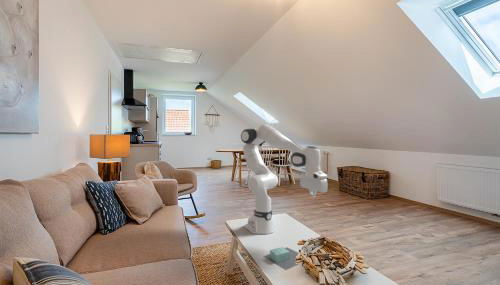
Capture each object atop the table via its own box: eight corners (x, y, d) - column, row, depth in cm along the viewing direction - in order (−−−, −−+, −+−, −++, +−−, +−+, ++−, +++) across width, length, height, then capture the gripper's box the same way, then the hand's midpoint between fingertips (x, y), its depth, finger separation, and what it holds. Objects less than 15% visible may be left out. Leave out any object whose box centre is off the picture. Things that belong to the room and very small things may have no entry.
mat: (263, 257, 131) (263, 256, 131) (286, 248, 142) (286, 247, 142) (285, 271, 118) (285, 270, 118) (310, 259, 128) (310, 258, 128)
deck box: (282, 254, 134) (270, 257, 130) (282, 246, 134) (270, 249, 130) (289, 259, 128) (276, 262, 124) (289, 251, 128) (276, 255, 124)
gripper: (297, 171, 152) (297, 194, 152) (320, 176, 134) (320, 201, 134) (305, 171, 155) (305, 192, 155) (329, 175, 137) (329, 200, 137)
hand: (312, 197), depth 144 cm, fingers closed
